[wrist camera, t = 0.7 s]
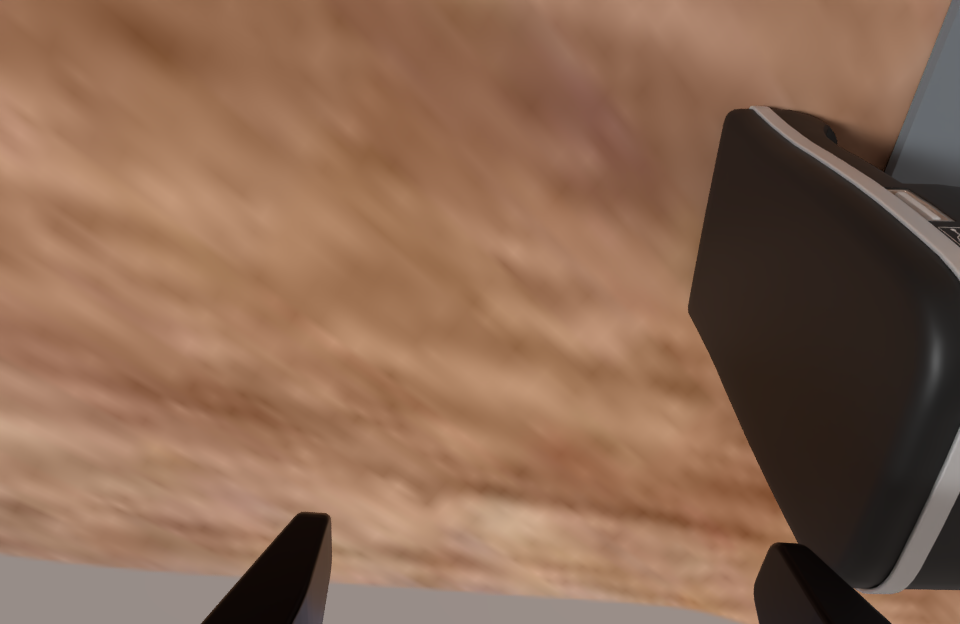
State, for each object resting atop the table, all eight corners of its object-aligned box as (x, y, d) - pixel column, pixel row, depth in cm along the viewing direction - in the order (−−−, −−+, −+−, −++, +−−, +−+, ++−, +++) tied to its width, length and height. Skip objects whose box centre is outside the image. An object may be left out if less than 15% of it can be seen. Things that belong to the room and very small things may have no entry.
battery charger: (799, 318, 23) (1035, 639, 13) (680, 316, 23) (829, 636, 13) (863, 98, 20) (1250, 314, 10) (723, 95, 19) (969, 309, 10)
